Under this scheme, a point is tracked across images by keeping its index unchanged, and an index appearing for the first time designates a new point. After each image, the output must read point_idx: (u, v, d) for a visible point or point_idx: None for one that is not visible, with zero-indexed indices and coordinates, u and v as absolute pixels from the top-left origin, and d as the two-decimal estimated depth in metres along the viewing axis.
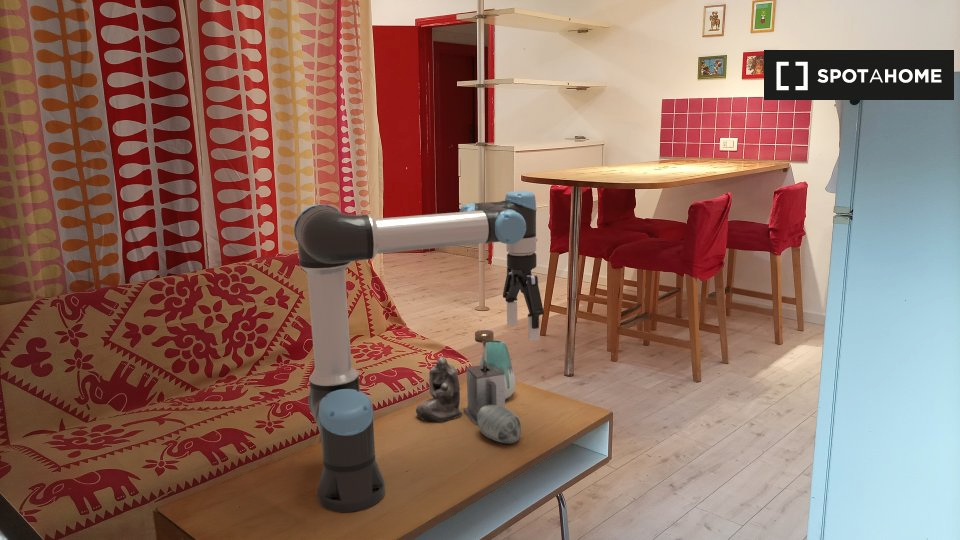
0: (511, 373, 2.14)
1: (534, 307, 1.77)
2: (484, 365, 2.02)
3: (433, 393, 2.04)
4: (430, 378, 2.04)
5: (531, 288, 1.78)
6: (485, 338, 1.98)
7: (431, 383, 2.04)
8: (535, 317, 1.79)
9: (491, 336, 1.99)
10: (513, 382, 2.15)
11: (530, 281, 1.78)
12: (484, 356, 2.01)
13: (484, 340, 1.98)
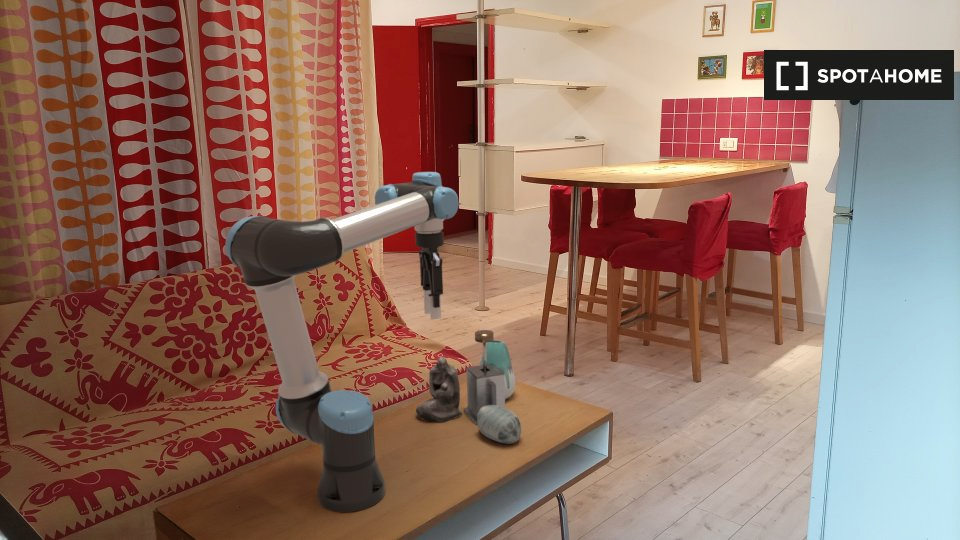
0: (511, 373, 2.14)
1: (434, 288, 1.88)
2: (484, 365, 2.02)
3: (433, 393, 2.04)
4: (430, 378, 2.04)
5: (434, 270, 1.87)
6: (485, 338, 1.98)
7: (431, 383, 2.04)
8: (435, 297, 1.90)
9: (491, 336, 1.99)
10: (513, 382, 2.15)
11: (434, 264, 1.86)
12: (484, 356, 2.01)
13: (484, 340, 1.98)
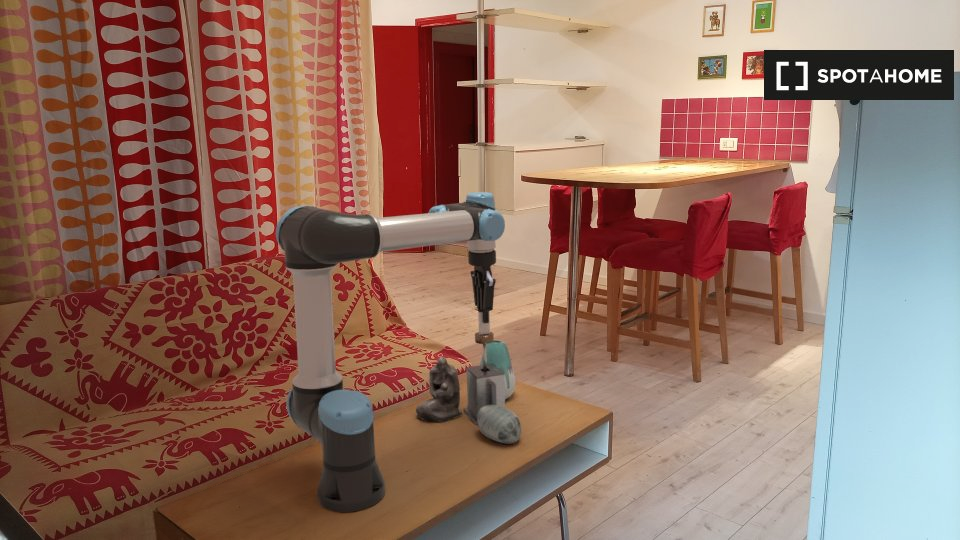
0: (511, 373, 2.14)
1: (485, 305, 1.94)
2: (484, 366, 2.02)
3: (433, 393, 2.04)
4: (430, 378, 2.04)
5: (487, 289, 1.92)
6: (485, 339, 1.98)
7: (431, 383, 2.04)
8: (485, 313, 1.97)
9: (491, 337, 1.99)
10: (513, 382, 2.15)
11: (488, 284, 1.91)
12: (484, 357, 2.01)
13: (484, 341, 1.98)
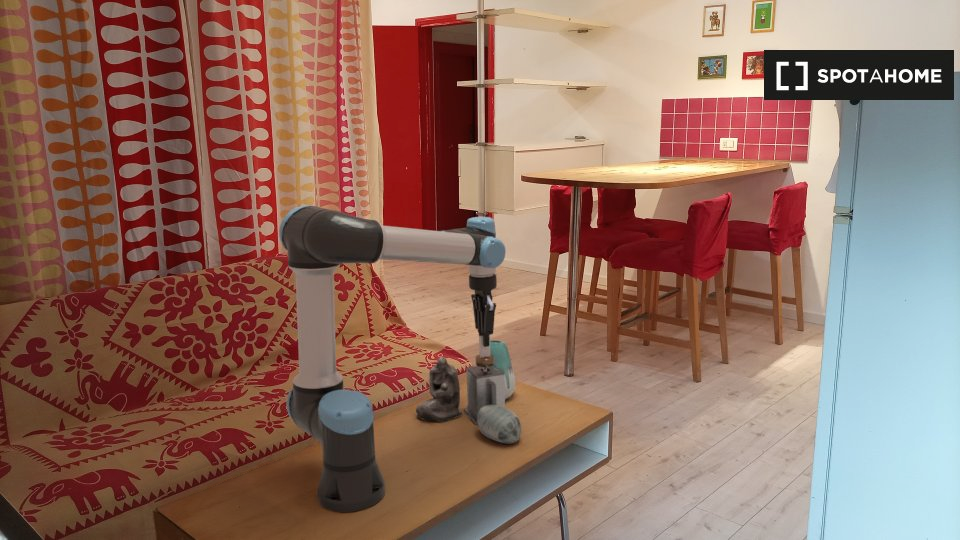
0: (511, 373, 2.14)
1: (486, 329, 1.96)
2: None
3: (433, 393, 2.04)
4: (430, 378, 2.04)
5: (487, 314, 1.94)
6: (486, 362, 2.00)
7: (431, 383, 2.04)
8: (486, 336, 1.99)
9: (492, 360, 2.00)
10: (513, 382, 2.15)
11: (488, 309, 1.93)
12: None
13: (485, 364, 2.00)
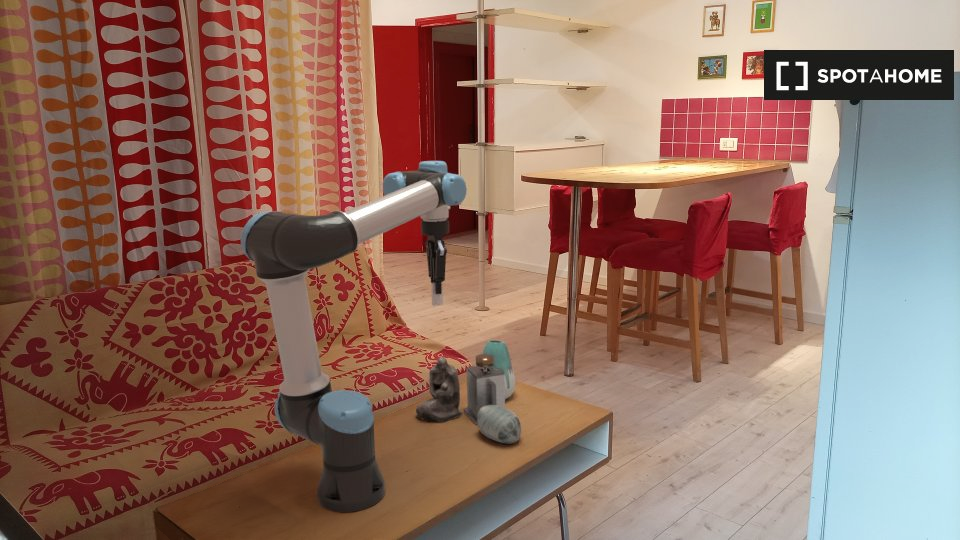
0: (511, 373, 2.14)
1: (437, 275, 1.92)
2: None
3: (433, 393, 2.04)
4: (430, 378, 2.04)
5: (438, 259, 1.90)
6: (486, 362, 2.00)
7: (431, 383, 2.04)
8: (437, 283, 1.95)
9: (492, 360, 2.00)
10: (513, 382, 2.15)
11: (439, 254, 1.89)
12: None
13: (485, 364, 2.00)
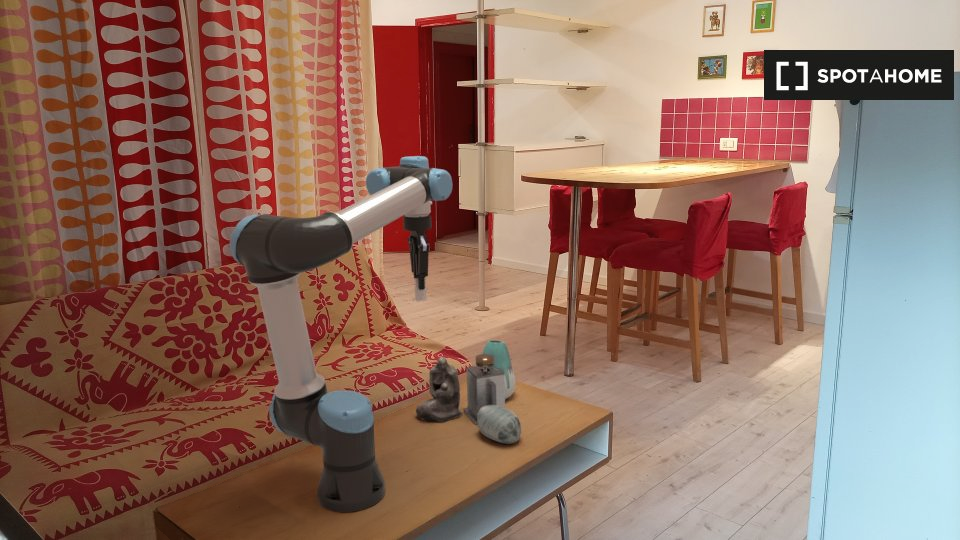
0: (511, 373, 2.14)
1: (420, 271, 1.92)
2: None
3: (433, 393, 2.04)
4: (430, 378, 2.04)
5: (421, 254, 1.90)
6: (486, 362, 2.00)
7: (431, 383, 2.04)
8: (421, 279, 1.95)
9: (492, 360, 2.00)
10: (513, 382, 2.15)
11: (421, 249, 1.89)
12: None
13: (485, 364, 2.00)
